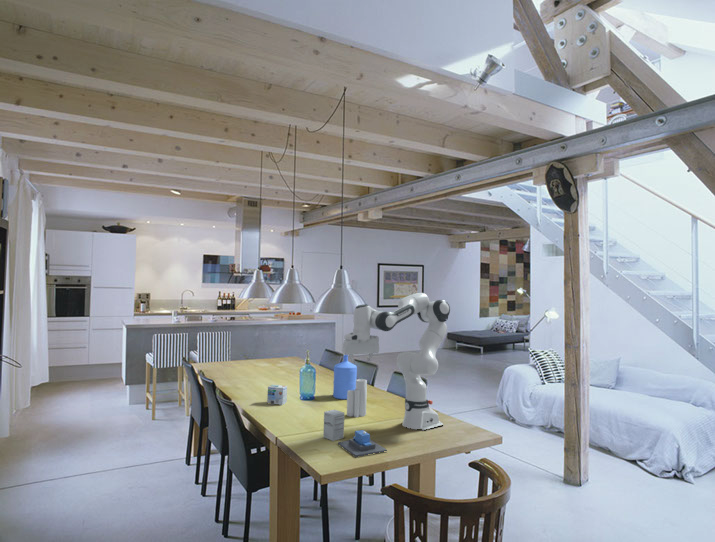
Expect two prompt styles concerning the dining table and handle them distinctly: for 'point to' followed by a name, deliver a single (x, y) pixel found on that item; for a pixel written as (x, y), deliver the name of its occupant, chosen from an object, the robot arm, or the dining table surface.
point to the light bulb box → (277, 394)
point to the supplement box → (333, 425)
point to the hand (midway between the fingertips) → (360, 362)
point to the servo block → (362, 438)
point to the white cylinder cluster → (357, 399)
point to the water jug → (344, 378)
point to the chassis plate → (361, 448)
